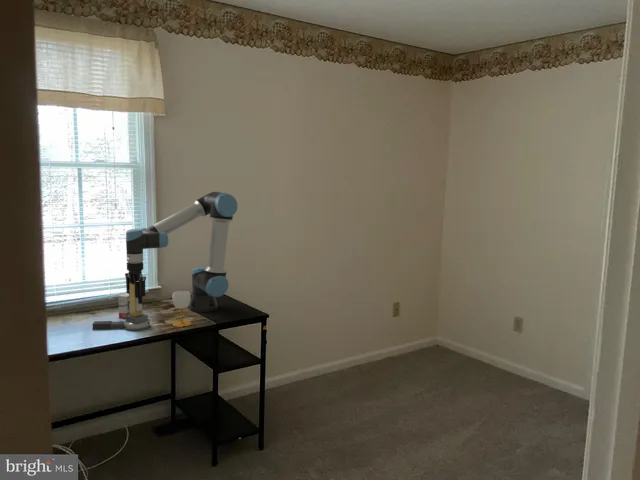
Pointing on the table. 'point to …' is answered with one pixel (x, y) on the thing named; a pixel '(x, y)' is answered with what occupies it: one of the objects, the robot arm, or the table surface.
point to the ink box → (124, 305)
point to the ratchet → (125, 324)
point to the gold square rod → (133, 301)
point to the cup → (181, 305)
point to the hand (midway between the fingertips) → (136, 309)
